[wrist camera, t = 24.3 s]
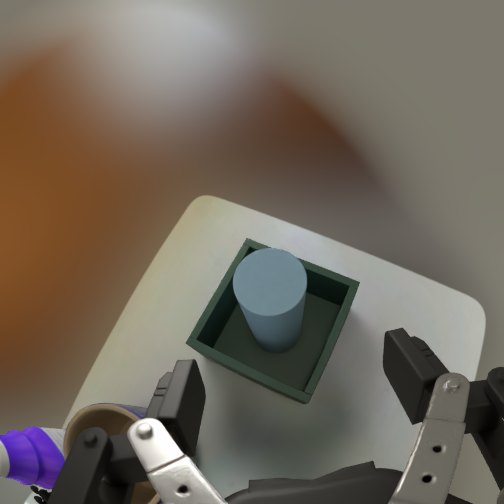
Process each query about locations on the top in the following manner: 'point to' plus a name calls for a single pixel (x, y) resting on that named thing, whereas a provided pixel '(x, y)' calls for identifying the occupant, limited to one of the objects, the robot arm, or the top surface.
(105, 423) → the planter
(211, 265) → the top surface
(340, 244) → the top surface
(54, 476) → the bottle
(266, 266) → the cylinder
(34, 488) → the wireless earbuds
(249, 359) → the bin
